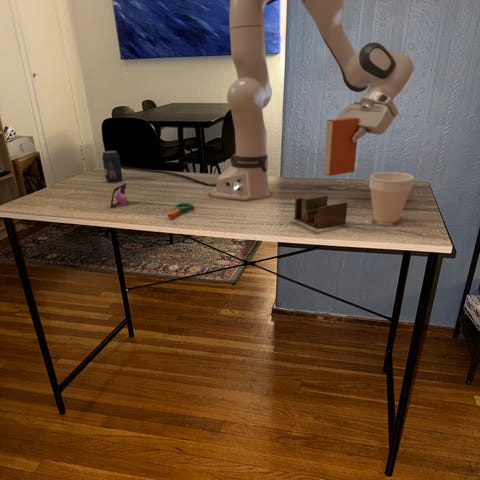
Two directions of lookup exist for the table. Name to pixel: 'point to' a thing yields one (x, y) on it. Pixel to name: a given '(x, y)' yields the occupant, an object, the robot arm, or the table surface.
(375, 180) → the flower pot
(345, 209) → the rack
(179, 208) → the magnifying glass
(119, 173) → the soda can
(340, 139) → the book
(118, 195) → the brown pink framed ornament
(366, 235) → the table surface
